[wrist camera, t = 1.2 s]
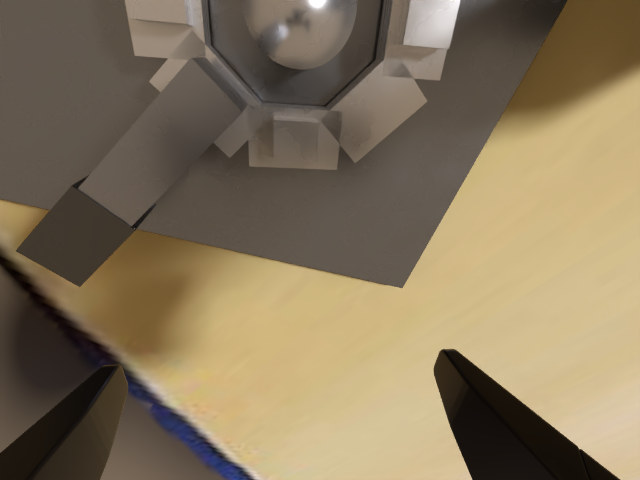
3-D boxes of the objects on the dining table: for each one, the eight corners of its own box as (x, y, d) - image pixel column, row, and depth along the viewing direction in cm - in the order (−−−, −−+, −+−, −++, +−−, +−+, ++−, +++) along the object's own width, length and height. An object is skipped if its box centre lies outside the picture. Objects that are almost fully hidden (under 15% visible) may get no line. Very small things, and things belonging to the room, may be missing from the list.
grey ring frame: (310, -377, 9) (337, -746, 5) (492, 32, 15) (576, 21, 11) (-31, 125, 15) (-160, 152, 10) (202, 284, 20) (181, 344, 16)
